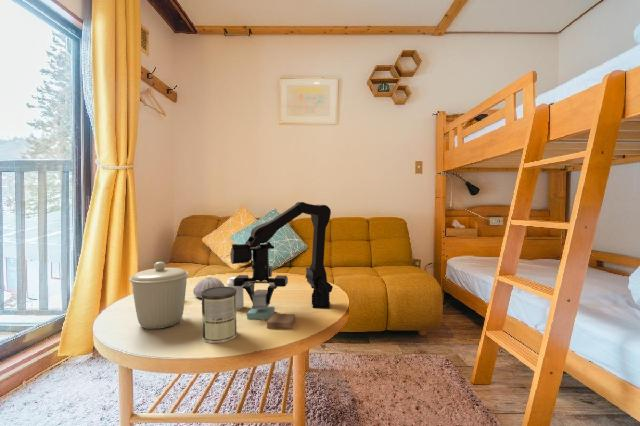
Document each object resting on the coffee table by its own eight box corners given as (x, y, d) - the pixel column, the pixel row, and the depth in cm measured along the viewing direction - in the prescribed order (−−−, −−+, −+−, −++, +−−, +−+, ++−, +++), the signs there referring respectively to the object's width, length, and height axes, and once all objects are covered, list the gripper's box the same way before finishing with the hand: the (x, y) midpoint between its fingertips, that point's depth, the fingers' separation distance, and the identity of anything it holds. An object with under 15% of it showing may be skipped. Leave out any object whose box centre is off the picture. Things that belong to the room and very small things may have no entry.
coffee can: (195, 337, 100) (194, 291, 100) (224, 327, 108) (223, 284, 108) (214, 346, 94) (213, 297, 93) (244, 335, 102) (243, 290, 101)
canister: (122, 324, 111) (120, 262, 110) (175, 310, 125) (174, 255, 124) (143, 339, 99) (141, 269, 98) (199, 322, 113) (198, 261, 112)
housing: (265, 309, 115) (265, 295, 115) (251, 309, 116) (251, 295, 116) (270, 303, 122) (270, 289, 122) (257, 302, 123) (256, 289, 123)
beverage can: (224, 308, 127) (223, 277, 127) (238, 304, 132) (237, 274, 131) (232, 312, 123) (231, 280, 122) (246, 308, 127) (246, 277, 127)
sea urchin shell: (199, 302, 135) (199, 283, 135) (189, 295, 145) (188, 277, 145) (230, 296, 143) (230, 278, 143) (218, 289, 154) (218, 272, 154)
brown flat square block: (295, 319, 114) (295, 314, 114) (291, 328, 106) (291, 322, 106) (272, 319, 115) (272, 313, 115) (267, 328, 107) (266, 322, 107)
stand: (274, 311, 123) (274, 306, 123) (269, 319, 115) (269, 313, 115) (253, 311, 124) (253, 305, 123) (247, 318, 116) (247, 313, 116)
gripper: (290, 257, 126) (290, 298, 126) (242, 257, 127) (243, 297, 128) (284, 263, 115) (285, 307, 115) (232, 262, 116) (233, 306, 117)
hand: (261, 304), depth 119 cm, fingers closed on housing, 5 cm apart
